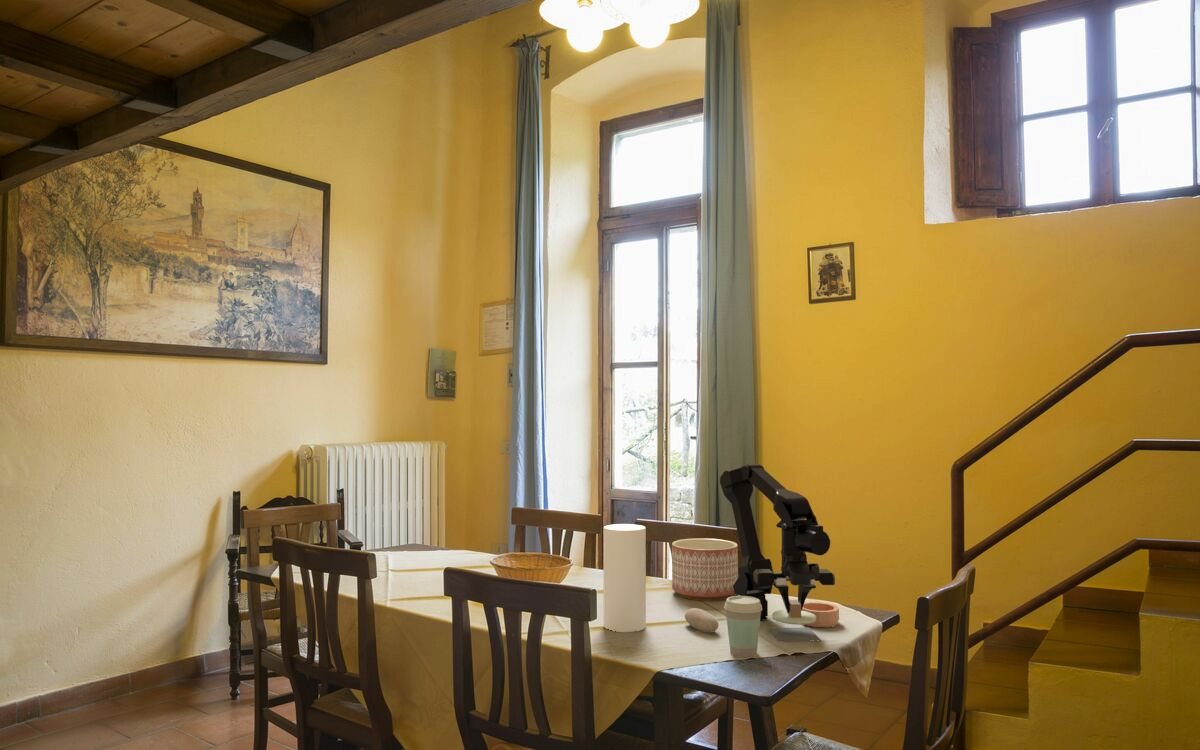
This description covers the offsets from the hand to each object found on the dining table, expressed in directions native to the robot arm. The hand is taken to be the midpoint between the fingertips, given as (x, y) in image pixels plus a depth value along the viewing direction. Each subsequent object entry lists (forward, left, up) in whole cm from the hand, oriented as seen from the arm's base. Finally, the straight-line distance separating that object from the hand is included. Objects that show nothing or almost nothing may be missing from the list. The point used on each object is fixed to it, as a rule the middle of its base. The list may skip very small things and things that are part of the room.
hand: (793, 612), depth 198 cm
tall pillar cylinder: (-41, +8, -6) cm, 42 cm away
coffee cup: (-15, -14, -6) cm, 21 cm away
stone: (-22, +5, -6) cm, 23 cm away
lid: (0, 0, -1) cm, 1 cm away
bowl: (+9, +11, -5) cm, 15 cm away
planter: (-16, +42, -6) cm, 45 cm away
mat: (0, 0, -5) cm, 5 cm away
